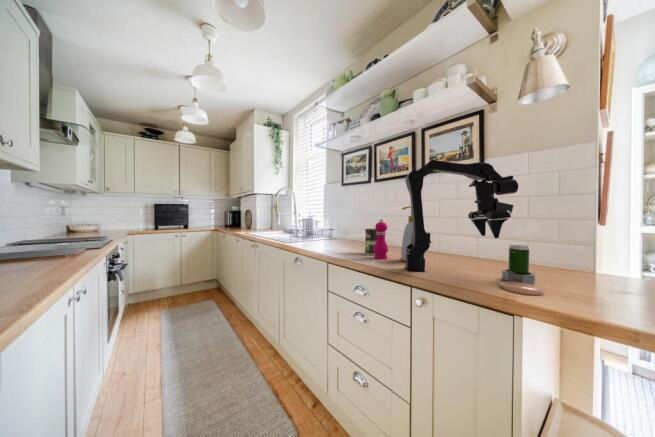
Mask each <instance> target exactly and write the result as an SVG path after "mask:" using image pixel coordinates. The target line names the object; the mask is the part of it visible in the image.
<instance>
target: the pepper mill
mask: <svg viewBox="0 0 655 437" xmlns="http://www.w3.org/2000/svg"><path fill="white" fill-rule="evenodd" d="M374 229H376V230H377V232H376V234H377V242H376V244H375V246H374V252H375V253H376V254H375V256H374V259H376V260H377V259H378V260H386V259H388V254H387V253H389V247H388V244H387V242H386V235H387V230H388V224H387V223H386V222H384V220H383V219H382V218H380V219H379V222H376V224H375V226H374Z"/></svg>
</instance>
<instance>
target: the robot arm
mask: <svg viewBox="0 0 655 437" xmlns="http://www.w3.org/2000/svg"><path fill="white" fill-rule="evenodd" d="M432 172H436V173H444V174H452V175H459V176H464V177H466V178H468V179H471V180H472V181H471V183H470V184H469V185H468V187H469V188H472V187H474V188H475V197H476V200H474V204H476V205H477V206H476V207H477V210H475V211H470V212H469V213H468V215H467V216H468V217H467V218H468V219H469V220H470V221H471V223H473V224H474V226H475V228H476V229H477V231H478V232H479V234H480V235H481V236H482V237H485V236H486V233H487V232H486V230H487V229H486V227H487V226H486V225H488V226H489V230H490V232H491V233H492V236H493V237H494V239H499V237H500V233H501V230H502V227H503V224H504V223H505V222H507V221H508V220H509V219H510V218H511V217H512V216H511V215H512V213H513V209H514V204H511V203H505V202H501V201H499V198H498V197H495V195H497V196H503V195H510V194H516V193H517V192H518V191H519V183H518V181H517V180H516V179H515V178H514V175H508V176H502V175H501V174H500V173H499V172H498V171H496V170H495V168H494V166H493V165H492V164H491V163H488V162H477V163H476V162H475V163H459V162H451V161H450V162H449V161H442V160H438V159H437V160H436V159H431V160H429V161H428V162H427V163H426V164H425V165H423V166H422V167H420V168H419V169H414V170H412V171H410V172H409V173H408V174H407V175H406V177H405V178H404V180H405V186H406V187H407V190H408V193H409V197H410V207H411V208H410V211H411V210H412V220H413V232H412V238H411V243H410V244H409V245H408V246H407V247H406V251H407V253H408V254H406V262H405V266H404V268H405V269H406V270H407V271H409V272H426V258H425V253H426V252H427V251H428V250H429V249H430V247H431V244H432V240H431V232H428V231H426V229H425V222H424V221H425V220H424V210H423V209H424V208H423V199H422V197H423V196H422V191H423V184H424V178H425V177H426V176H428V175H429V174H430V173H432ZM486 223H487V224H486Z"/></svg>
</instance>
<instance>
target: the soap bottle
mask: <svg viewBox="0 0 655 437" xmlns="http://www.w3.org/2000/svg"><path fill="white" fill-rule="evenodd" d="M407 209H410V215H409V216H408V221H407V223H406V224H405V228H404V231H403V236H402V241H401V252H400V254H401V255H400V261H401V262H404V263H406V254H408V253H407V251H406V247H407V246H408V245H409V244H410V243H411V238H412V232H413V220H412V210H411V206H404V207H402V208H401V210H402V211H403V210H407Z"/></svg>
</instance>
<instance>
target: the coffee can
mask: <svg viewBox="0 0 655 437" xmlns="http://www.w3.org/2000/svg"><path fill="white" fill-rule="evenodd" d="M364 230H365V234H364V235H365V238H364V239H365V240H364V242H365V244H364V245H365V247H364V254H365V255H367V256H373V257H375V254H376V253H375V252H374V246H375V244H376V242H377V234H376V232H377V230H376V229H375V228H365V229H364Z"/></svg>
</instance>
